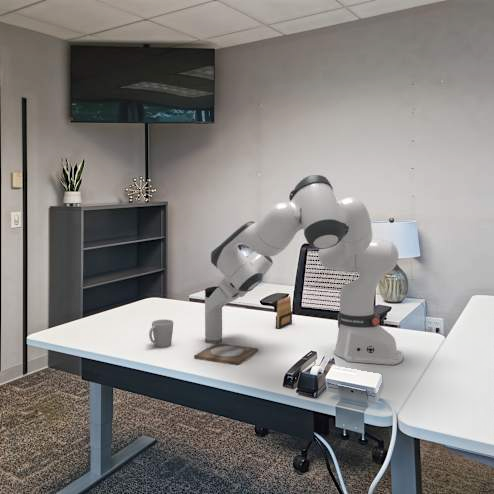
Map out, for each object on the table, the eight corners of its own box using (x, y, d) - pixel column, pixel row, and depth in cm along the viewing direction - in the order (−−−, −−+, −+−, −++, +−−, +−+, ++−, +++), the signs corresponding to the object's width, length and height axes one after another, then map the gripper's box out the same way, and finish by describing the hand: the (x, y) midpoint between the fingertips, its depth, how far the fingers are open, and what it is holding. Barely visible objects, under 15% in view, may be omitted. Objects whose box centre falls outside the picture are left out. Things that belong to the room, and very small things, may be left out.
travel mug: (226, 340, 182) (226, 287, 180) (213, 344, 177) (213, 289, 176) (214, 337, 186) (214, 285, 185) (201, 340, 182) (201, 287, 180)
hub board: (258, 351, 169) (258, 347, 169) (238, 365, 155) (238, 361, 154) (217, 345, 176) (217, 341, 176) (194, 358, 161) (194, 354, 161)
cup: (178, 344, 177) (177, 321, 176) (158, 351, 169) (157, 327, 168) (162, 341, 181) (162, 318, 181) (142, 347, 173) (142, 323, 172)
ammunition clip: (279, 329, 198) (279, 299, 197) (275, 328, 199) (275, 299, 198) (292, 323, 207) (292, 295, 206) (288, 323, 208) (288, 295, 207)
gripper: (243, 274, 186) (220, 297, 191) (218, 282, 167) (194, 308, 172) (254, 286, 184) (231, 310, 189) (230, 296, 166) (205, 321, 171)
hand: (213, 309), depth 181 cm, fingers open, 8 cm apart
